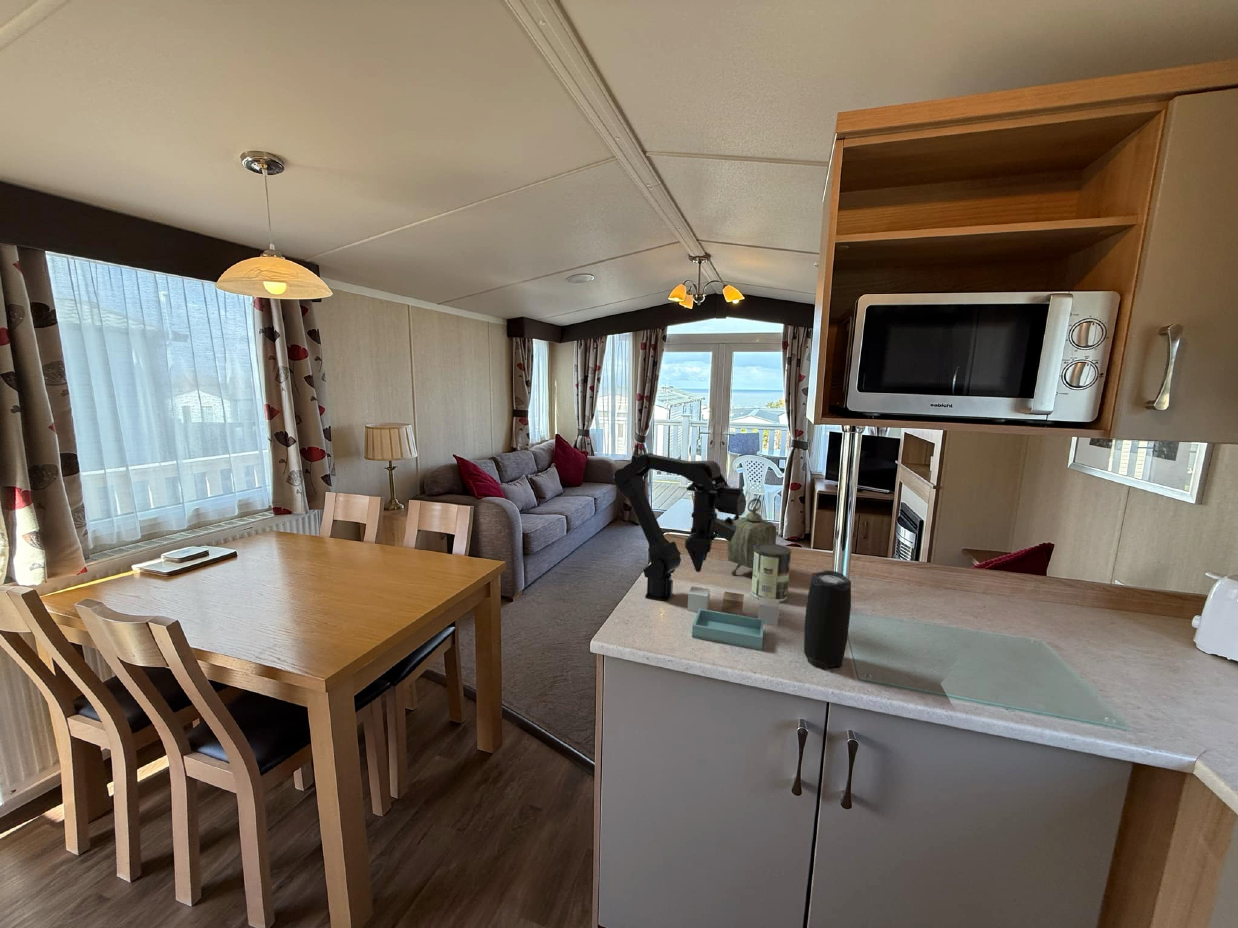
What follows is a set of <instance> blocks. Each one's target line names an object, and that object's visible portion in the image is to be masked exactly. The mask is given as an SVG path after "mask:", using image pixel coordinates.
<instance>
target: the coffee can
mask: <svg viewBox="0 0 1238 928" xmlns="http://www.w3.org/2000/svg"><path fill="white" fill-rule="evenodd" d="M791 555H792V549H791V548H790V547H788V546H785V545H781V544H777V543H776V544H771V543H761V544H757V545H755V546H754V563H753V568H752V578H751V579H752V580H751V590H750V592H751V595H752V596H753V597H755V598H757V599H758V598H759V597H765V598H771V599H778V600H779V603H780V602H783V601H786V600H787V599H788V592H789V579H790V578H789V577H790V569H791V567H790V566H791Z"/></svg>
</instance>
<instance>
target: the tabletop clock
mask: <svg viewBox="0 0 1238 928" xmlns="http://www.w3.org/2000/svg"><path fill="white" fill-rule="evenodd" d="M755 501H756V502H758V503H759V505H758V507H756V506H754V507H752V509H751V508H750V506H751V504H752V503H753V502H755ZM761 507H762V501H761V500H760V499H759V498H753V499H751V500H750V501H749V502H748V504H747V510H748V511H749V513H747V514H746V516H745V517H741V518H738V519H736V520H733V525H736V527H737V529H736V531H735V534H734V536H733V538H732V540H731V541H728V540H727V544H726V545H727V546H726V547H727V549H726V553H727V554H726V555H727V560H728V561H729V562H731V563H734V564H737V565H736V567H735V569H732V570H731V572H730V573H731V575H732V576H736V574H737V570H738V569H739V568H740V567H742V566H743V567H746V568H748V569H753V563H754V546H755V545H757V544H761V543H771V544H777V526H776V525H775V524H774V523H773V522H771V521H767V520H765V519H763V518H762V516H761V514H760V513H758V512H757V511H759V510H760V508H761Z"/></svg>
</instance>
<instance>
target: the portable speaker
mask: <svg viewBox="0 0 1238 928" xmlns="http://www.w3.org/2000/svg"><path fill="white" fill-rule="evenodd" d="M851 589H852V581H851V580H850V579H849V578H847V576H845V575H844V574H843V573H841V572H838V571H835V570H829V569H828V570H827V569H826V570H823V571H818V572H812V573H811V580H810V584H809V589H808V592H807V593H808V595H807V597H806V598H807V599H806V607H805V617H804V618H805V619H804V626H803V627H804V628H803V653H804V655H805V657H806V659H807V662H808V663H809V664H810V665H812V666H813V667H815V668H818V669H820V670H821V669H822V670H827V669H828V668H830V667H836V666H837V667H839V668H841V667H843V662H844V658H845V652H846V647H847V643H848V637H849V627H850V620H851V619H850V618H851V608H852V590H851Z"/></svg>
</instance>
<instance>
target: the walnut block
mask: <svg viewBox="0 0 1238 928" xmlns="http://www.w3.org/2000/svg"><path fill="white" fill-rule="evenodd" d="M744 597H745V594H744V593H736V592H732V591H724V594H723V596H722V603H721V604H722V606H721V612H722V613H728V614H734V615H740V616H743V613H744V612H743V611H744V610H743V609H744Z"/></svg>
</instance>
